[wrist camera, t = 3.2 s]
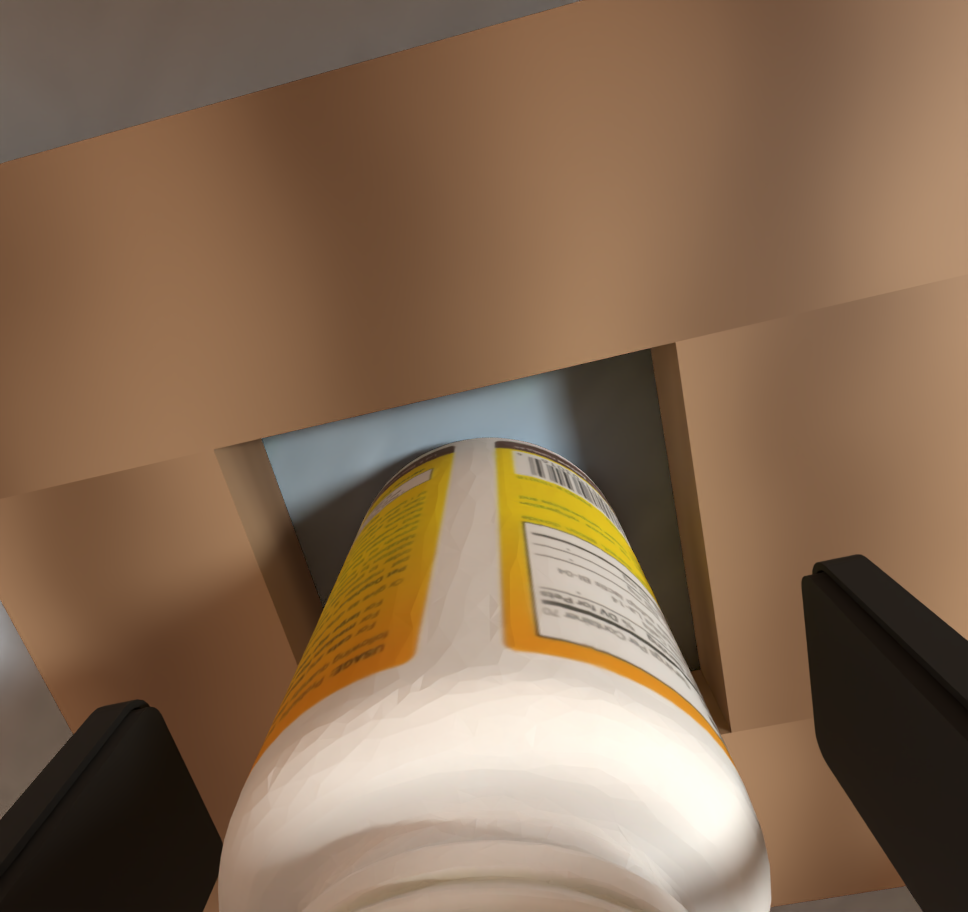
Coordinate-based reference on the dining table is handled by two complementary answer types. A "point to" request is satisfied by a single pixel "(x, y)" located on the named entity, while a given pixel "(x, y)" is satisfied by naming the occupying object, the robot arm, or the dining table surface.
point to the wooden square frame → (503, 346)
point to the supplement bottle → (493, 719)
